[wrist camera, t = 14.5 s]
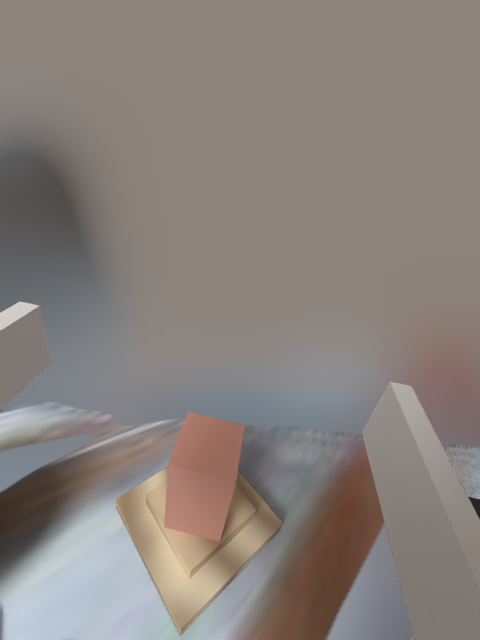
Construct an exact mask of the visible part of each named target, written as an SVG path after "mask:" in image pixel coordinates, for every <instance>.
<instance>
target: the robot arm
mask: <svg viewBox="0 0 480 640" xmlns="http://www.w3.org/2000/svg"><path fill="white" fill-rule="evenodd" d="M49 364H51V358H50V354H49V349H48V344H47V339H46V335H45V330H44V325H43V321H42V316H41V311H40V307H39V306H38V305H33V304H29V303H24V302H18V303H17V304H15V305H13V306H12V307H10V308H8V309H7V310H5V311H3V312H1V313H0V409H1V408H2V407H3V406H5V405H6V404H7V403H8V402H9V401H10V400H11V399H12V398H13V397H14V396H16V394H18V393H19V392H20V391H21V390H22V389H23V388H24V387H25V386H27V385H28V384H29V383H30V382H31V381H32V380H33V379H34V378H35V377H36V376H37V375H39V374H40V373H41V372H42V371H43V370H44V369H45V368H46V367H47V366H48V365H49ZM362 436H363V440H364V443H365V447H366V451H367V455H368V459H369V463H370V467H371V471H372V475H373V479H374V483H375V487H376V490H377V494H378V498H379V502H380V506H381V510H382V514H383V518H384V522H385V526H386V529H387V534H388V537H389V541H390V545H391V549H392V553H393V557H394V561H395V565H396V569H397V573H398V576H399V581H400V584H401V588H402V592H403V596H404V600H405V604H406V608H407V612H408V616H409V620H410V624H411V627H412V631H413V635H414V639H415V640H480V499H475V498H471V497H468V496H467V494H466V492H465V490H464V488H463V486H462V484H461V482H460V480H459V478H458V476H457V474H456V472H455V470H454V468H453V467H452V465H451V463H450V461H449V459H448V457H447V455H446V453H445V451H444V449H443V447H442V445H441V443H440V441H439V439H438V437H437V435H436V433H435V431H434V429H433V427H432V426H431V424H430V422H429V420H428V418H427V416H426V414H425V412H424V410H423V408H422V406H421V404H420V402H419V400H418V398H417V396H416V394H415V392H414V390H413V389H412V387H411V386H408V385H403V384H399V383H393V382H389V384H388V386H387V388H386V390H385V391H384V393H383V395H382V397H381V399H380V400H379V402H378V404H377V406H376V407H375V409H374V411H373V413H372V415H371V416H370V418H369V420H368V422H367V423H366V425H365V427H364V429H363V431H362Z"/></svg>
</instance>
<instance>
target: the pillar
mask: <svg viewBox="0 0 480 640" xmlns="http://www.w3.org/2000/svg"><path fill="white" fill-rule="evenodd" d="M244 430H245V425H242V424H238V423H234V422H229V421H225V420H220V419H216V418H212V417H207V416H203V415H199V414H194V413H190V412H188V414H187V417H186V419H185V422H184V425H183V427H182V430H181V432H180V435H179V438H178V440H177V443H176V445H175V448H174V451H173V453H172V456H171V458H170V461H169V464H168V473H167V489H166V505H165V522H164V528H167V529H171V530H176V531H180V532H184V533H188V534H192V535H196V536H200V537H204V538H208V539H212V540H216V541H220V540H221V536H222V532H223V529H224V525H225V521H226V517H227V514H228V510H229V506H230V502H231V499H232V495H233V491H234V488H235V484H236V479H237V473H238V467H239V461H240V455H241V448H242V442H243V436H244Z"/></svg>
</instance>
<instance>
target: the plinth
mask: <svg viewBox="0 0 480 640" xmlns="http://www.w3.org/2000/svg"><path fill="white" fill-rule="evenodd" d="M167 473H168V467H166V468H165V469H163V470H162V471H160V472H158V473H157V474H155V475H154V476H152V477H150V478H149V479H147V480H146V481H144V482H142V483H141V484H139V485H138V486H136V487H134V488H133V489H131V490H130V491H128V492H126V493H125V494H123V495H122V496H120V497H118V498H117V499H115V500H116V509H117V511H118V513H119V515H120V517H121V519H122V521H123V523H124V525H125V527H126V529H127V531H128V533H129V535H130V537H131V539H132V541H133V543H134V545H135V547H136V549H137V551H138V553H139V555H140V557H141V559H142V561H143V563H144V565H145V567H146V569H147V571H148V573H149V575H150V577H151V579H152V581H153V583H154V585H155V587H156V589H157V591H158V593H159V595H160V597H161V599H162V601H163V603H164V605H165V607H166V609H167V611H168V613H169V615H170V617H171V619H172V621H173V623H174V625H175V627H176V629H177V631H178V633H179V635H180V636H181V635H182V633H183V632H184V631H185V630H186V629H187V628H188V627H189V626H190V625H191V624H192V623H193V622H194V621H195V620H196V619H197V618H198V617H199V615H200V614H201V613H202V612H203V611H204V610H205V609H206V608H207V607H208V606H209V605H210V604H211V603H212V602H213V601H214V600H215V599H216V598H217V596H218V595H219V594H220V593H221V592H222V591H223V590H224V589H225V588H226V587H227V586H228V585H229V584H230V583H231V582H232V581H233V580H234V578H235V577H236V576H237V575H238V574H239V573H240V572H241V571H242V570H243V569H244V568H245V567H246V566H247V565H248V564H249V563H250V562H251V561H252V559H253V558H254V557H255V556H256V555H257V554H258V553H259V552H260V551H261V550H262V549H263V548H264V547H265V546H266V545H267V544H268V543H269V541H270V540H271V539H272V538H273V537H274V536H275V535H276V534H277V533H278V532H279V530H280V528H281V526H282V524H283V523H282V521H281V520H280V519H279V518H278V517H277V516H276V514H275V513H274V512H273V511H272V510H271V509H270V507H269V506H268V505H267V504H266V503H265V502H264V500H263V499H262V498H261V497H260V496H259V495H258V493H257V492H256V491H255V490H254V489H253V487H252V486H251V485H250V484H249V483H248V482H247V480H246V479H245V478H244V477H243V476H242V475H241V473H240V472H239V471H238V473H237V479H236V484H235V488H234V491H233V495H232V499H231V502H230V506H229V510H228V514H227V517H226V521H225V525H224V529H223V532H222V536H221V540H220V541H216V540H212V539H208V538H204V537H200V536H196V535H192V534H188V533H184V532H180V531H176V530H171V529H167V528H164V522H165V505H166V489H167Z"/></svg>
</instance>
